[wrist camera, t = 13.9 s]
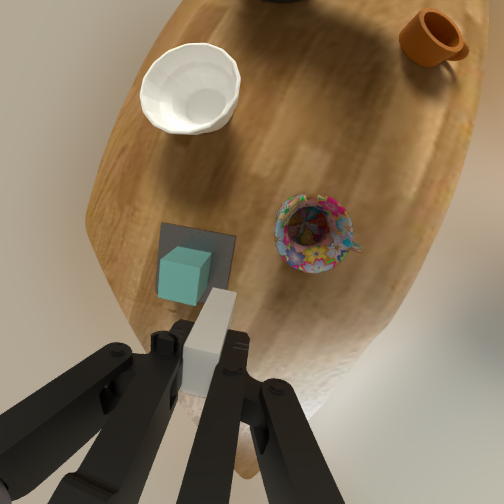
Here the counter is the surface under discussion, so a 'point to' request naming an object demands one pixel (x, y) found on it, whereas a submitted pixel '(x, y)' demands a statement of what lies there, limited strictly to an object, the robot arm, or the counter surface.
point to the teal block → (184, 275)
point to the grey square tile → (200, 241)
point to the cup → (191, 89)
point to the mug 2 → (432, 39)
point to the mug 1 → (313, 233)
